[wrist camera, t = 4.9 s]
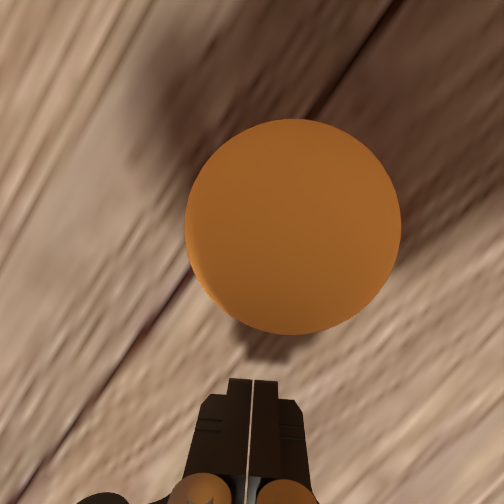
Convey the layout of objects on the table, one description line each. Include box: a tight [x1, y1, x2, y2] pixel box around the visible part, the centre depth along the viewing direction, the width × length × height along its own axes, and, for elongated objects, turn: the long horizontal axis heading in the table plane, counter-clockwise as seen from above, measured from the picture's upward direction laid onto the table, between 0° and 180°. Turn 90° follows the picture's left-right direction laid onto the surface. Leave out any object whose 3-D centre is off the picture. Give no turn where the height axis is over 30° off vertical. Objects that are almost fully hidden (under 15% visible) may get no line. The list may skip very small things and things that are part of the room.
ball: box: [184, 119, 401, 335], centre depth 9 cm, size 5×5×5 cm
